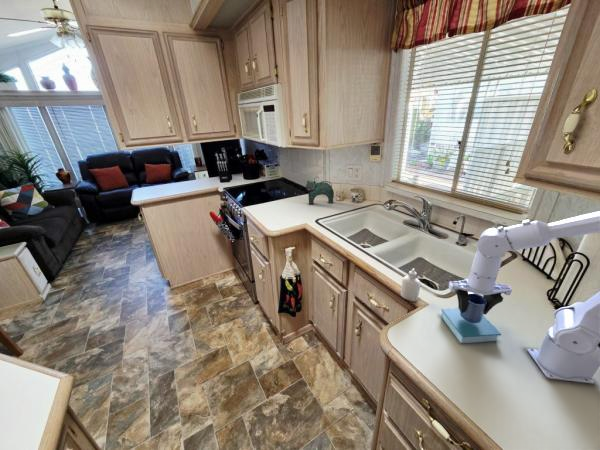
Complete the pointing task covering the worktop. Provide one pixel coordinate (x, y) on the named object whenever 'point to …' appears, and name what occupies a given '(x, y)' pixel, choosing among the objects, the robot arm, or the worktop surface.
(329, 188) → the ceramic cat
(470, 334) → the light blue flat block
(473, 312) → the cup
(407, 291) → the eye dropper bottle
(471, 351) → the worktop surface
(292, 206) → the worktop surface
